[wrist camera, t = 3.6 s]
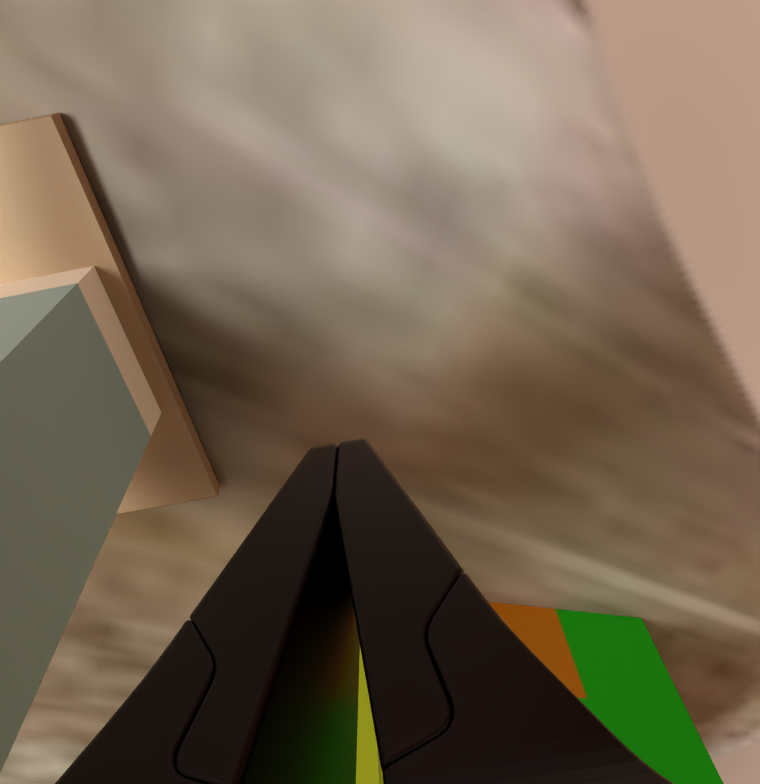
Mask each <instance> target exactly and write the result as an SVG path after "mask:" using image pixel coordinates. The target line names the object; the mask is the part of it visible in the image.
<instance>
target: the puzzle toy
mask: <svg viewBox="0 0 760 784" xmlns="http://www.w3.org/2000/svg"><path fill="white" fill-rule="evenodd" d="M489 604H490V605H491V606H492V607H493V609H494V610H495V611H496V612H497V614H498V615H499V616H500V617H501V619H502V620H503V621H504V622H505V623H506V624H507V625H508V627H509V628H510V629H511V630H512V631H513V632H514V633H515V634H516V635H517V636H518V637H519V638H520V639H521V641H522V642H523V643H524V644H525V645H526V646H527V647H528V648H529V649H530V650H531V651H532V652H533V653H534V654H535V655H536V656H537V657H538V658H539V659H540V661H541V662H542V663H543V664H544V665H545V666H546V667H547V668H548V669H549V670H550V671H551V672H552V673H553V674H554V675H555V676H556V677H557V678H558V679H559V680H560V681H561V682H562V683H563V684H564V685H565V686H566V687H567V688H568V689H569V690H570V691H571V692H572V693H573V694H574V695H575V696H576V697H577V698H578V699H579V700H580V701H581V702H582V703H583V704H584V705H585V706H586V707H587V708H588V709H589V710H590V711H591V712H592V713H593V714H594V715H595V716H596V717H597V718H598V719H599V720H600V721H601V722H602V723H603V724H604V725H605V726H606V727H607V728H608V729H609V730H610V731H611V732H612V733H613V734H614V735H615V736H616V737H617V738H618V739H619V740H620V741H621V742H622V743H623V744H624V745H625V746H627V747H628V748H629V749H630V750H631V751H632V752H633V753H634V754H636V755H637V756H638V757H639V758H640V759H641V760H642V761H644V762H645V763H646V764H647V765H649V766H650V767H651V768H652V769H654V770H655V771H656V772H658V773H659V774H660V775H662V776H663V777H665V778H666V779H668V780H669V781H671V782H672V783H674V784H723V782H722V780H721V778H720V776H719V774H718V772H717V770H716V768H715V766H714V764H713V762H712V760H711V758H710V756H709V754H708V752H707V750H706V748H705V746H704V744H703V742H702V740H701V738H700V736H699V734H698V732H697V730H696V728H695V725H694V723H693V721H692V719H691V717H690V715H689V713H688V711H687V709H686V707H685V705H684V703H683V701H682V699H681V697H680V695H679V693H678V691H677V689H676V687H675V685H674V683H673V681H672V679H671V677H670V675H669V673H668V671H667V669H666V667H665V665H664V663H663V661H662V659H661V657H660V655H659V653H658V651H657V649H656V647H655V645H654V643H653V641H652V639H651V637H650V635H649V633H648V630H647V628H646V626H645V624H644V622H643V620H642V618H636V617H626V616H617V615H607V614H598V613H588V612H579V611H569V610H560V609H551V608H541V607H532V606H522V605H513V604H503V603H494V602H489ZM356 784H384V782H383V772H382V769H381V765H380V759H379V753H378V747H377V742H376V736H375V730H374V724H373V718H372V713H371V707H370V701H369V695H368V689H367V683H366V678H365V672H364V666H363V660H362V654H361V649H360V656H359V692H358V727H357V763H356Z"/></svg>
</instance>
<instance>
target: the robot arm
mask: <svg viewBox="0 0 760 784" xmlns="http://www.w3.org/2000/svg"><path fill="white" fill-rule="evenodd" d="M190 619H191V621H190V620H188V621H186V622H185V623H184V625H183V626H182V628H181V629H180V630H179V632H178V633H177V635H176V636H175V637H174V639H173V640H172V642H171V643H170V644H169V646H168V647H167V648H166V650H165V651H164V652H163V654H162V655H161V656H160V658H159V659H158V660H157V662H156V663H155V664H154V666H153V667H152V668H151V669H150V671H149V672H148V673H147V675H146V676H145V677H144V679H143V680H142V681H141V683H140V684H139V685H138V686H137V687H136V689H135V690H134V691H133V692H132V693H131V695H130V696H129V697H128V698H127V700H126V701H125V702H124V703H123V704H122V706H121V707H120V708H119V709H118V710H117V712H116V713H115V714H114V715H113V717H112V718H111V719H110V720H109V721H108V723H107V724H106V725H105V726H104V727H103V728H102V730H101V731H100V732H99V733H98V734H97V735H96V737H95V738H94V739H93V740H92V741H91V742H90V744H89V745H88V746H87V747H86V748H85V749H84V751H83V752H82V753H81V754H80V755H79V756H78V758H77V759H76V760H75V761H74V762H73V763H72V765H71V766H70V767H69V768H68V769H67V770H66V772H65V773H64V774H63V775H62V776H61V777H60V779H59V780H58V781H57V782H56V783H55V784H356V763H357V727H358V692H359V656H360V649H361V654H362V660H363V666H364V672H365V678H366V683H367V689H368V695H369V701H370V707H371V713H372V718H373V724H374V730H375V736H376V742H377V747H378V753H379V759H380V765H381V769H382V772H383V782H384V784H674V783H672V782H671V781H669V780H668V779H666V778H665V777H663V776H662V775H660V774H659V773H658V772H656V771H655V770H654V769H652V768H651V767H650V766H649V765H647V764H646V763H645V762H644V761H642V760H641V759H640V758H639V757H638V756H637V755H636V754H634V753H633V752H632V751H631V750H630V749H629V748H628V747H627V746H625V745H624V744H623V743H622V742H621V741H620V740H619V739H618V738H617V737H616V736H615V735H614V734H613V733H612V732H611V731H610V730H609V729H608V728H607V727H606V726H605V725H604V724H603V723H602V722H601V721H600V720H599V719H598V718H597V717H596V716H595V715H594V714H593V713H592V712H591V711H590V710H589V709H588V708H587V707H586V706H585V705H584V704H583V703H582V702H581V701H580V700H579V699H578V698H577V697H576V696H575V695H574V694H573V693H572V692H571V691H570V690H569V689H568V688H567V687H566V686H565V685H564V684H563V683H562V682H561V681H560V680H559V679H558V678H557V677H556V676H555V675H554V674H553V673H552V672H551V671H550V670H549V669H548V668H547V667H546V666H545V665H544V664H543V663H542V662H541V661H540V659H539V658H538V657H537V656H536V655H535V654H534V653H533V652H532V651H531V650H530V649H529V648H528V647H527V646H526V645H525V644H524V643H523V642H522V641H521V639H520V638H519V637H518V636H517V635H516V634H515V633H514V632H513V631H512V630H511V629H510V628H509V627H508V625H507V624H506V623H505V622H504V621H503V620H502V619H501V617H500V616H499V615H498V614H497V612H496V611H495V610H494V609H493V607H492V606H491V605H490V604H489V602H488V601H487V600H486V599H485V597H484V596H483V595H482V594H481V592H480V591H479V590H478V588H477V587H476V586H475V584H474V583H473V582H472V580H471V579H470V578H469V576H468V575H467V574H465V573H464V570H463V569H462V567H461V566H460V565H459V563H458V562H457V561H456V559H455V558H454V557H453V555H452V554H451V553H450V551H449V550H448V549H447V547H446V546H445V544H444V543H443V542H442V540H441V539H440V538H439V536H438V535H437V534H436V532H435V531H434V530H433V528H432V527H431V526H430V524H429V523H428V522H427V520H426V519H425V518H424V516H423V515H422V513H421V512H420V511H419V509H418V508H417V507H416V505H415V504H414V503H413V501H412V500H411V499H410V497H409V496H408V495H407V493H406V492H405V491H404V489H403V488H402V487H401V485H400V484H399V482H398V481H397V480H396V478H395V477H394V476H393V474H392V473H391V472H390V470H389V469H388V468H387V466H386V465H385V464H384V462H383V461H382V460H381V458H380V457H379V456H378V454H377V453H376V451H375V450H374V449H373V447H372V446H371V445H370V443H369V442H368V441H367V440H366V439H357V440H352V441H346V442H342V443H341V444H340V445H339V447H338V446H337V445H336V444H330V445H324V446H319V447H314V448H311V449H310V450H309V451H308V452H307V454H306V455H305V456H304V458H303V459H302V461H301V462H300V463H299V465H298V466H297V468H296V469H295V470H294V472H293V473H292V474H291V476H290V477H289V479H288V480H287V481H286V483H285V484H284V486H283V487H282V488H281V490H280V491H279V493H278V494H277V495H276V497H275V498H274V500H273V501H272V502H271V504H270V505H269V507H268V508H267V509H266V511H265V512H264V514H263V515H262V516H261V518H260V519H259V521H258V522H257V523H256V525H255V526H254V528H253V529H252V530H251V532H250V533H249V534H248V536H247V537H246V539H245V540H244V541H243V543H242V544H241V546H240V547H239V548H238V550H237V551H236V553H235V554H234V555H233V557H232V558H231V560H230V561H229V562H228V564H227V565H226V567H225V568H224V569H223V571H222V572H221V574H220V575H219V576H218V578H217V579H216V581H215V582H214V583H213V585H212V586H211V588H210V589H209V590H208V592H207V593H206V594H205V596H204V597H203V599H202V600H201V601H200V603H199V604H198V606H197V607H196V608H195V610H194V611H193V613H192V614H191V616H190Z"/></svg>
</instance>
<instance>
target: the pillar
mask: <svg viewBox="0 0 760 784" xmlns="http://www.w3.org/2000/svg"><path fill="white" fill-rule="evenodd" d="M160 415H161V411H160V408H159V406H158V404H157V402H156V400H155V397H154V395H153V393H152V391H151V389H150V387H149V384H148V382H147V380H146V378H145V376H144V374H143V371H142V369H141V367H140V365H139V363H138V360H137V358H136V356H135V354H134V352H133V350H132V347H131V345H130V343H129V341H128V339H127V336H126V334H125V332H124V330H123V328H122V326H121V323H120V321H119V319H118V317H117V315H116V312H115V310H114V308H113V306H112V304H111V302H110V299H109V297H108V295H107V293H106V291H105V289H104V286H103V284H102V282H101V280H100V278H99V275H98V273H97V271H96V269H95V267H94V266H91V267H86V268H81V269H76V270H71V271H66V272H61V273H56V274H51V275H46V276H41V277H35V278H30V279H25V280H20V281H15V282H10V283H5V284H0V772H1V770H2V768H3V766H4V763H5V761H6V759H7V757H8V754H9V752H10V750H11V748H12V745H13V743H14V741H15V739H16V737H17V734H18V732H19V730H20V728H21V725H22V723H23V721H24V719H25V716H26V714H27V712H28V710H29V707H30V705H31V703H32V701H33V699H34V696H35V694H36V692H37V690H38V687H39V685H40V683H41V681H42V678H43V676H44V674H45V672H46V670H47V667H48V665H49V663H50V661H51V658H52V656H53V654H54V652H55V649H56V647H57V645H58V643H59V641H60V638H61V636H62V634H63V632H64V629H65V627H66V625H67V623H68V620H69V618H70V616H71V614H72V611H73V609H74V607H75V605H76V603H77V600H78V598H79V596H80V594H81V591H82V589H83V587H84V585H85V582H86V580H87V578H88V576H89V574H90V571H91V569H92V567H93V565H94V562H95V560H96V558H97V556H98V553H99V551H100V549H101V547H102V545H103V542H104V540H105V538H106V536H107V533H108V531H109V529H110V527H111V524H112V522H113V520H114V518H115V516H116V513H117V511H118V509H119V507H120V504H121V502H122V500H123V498H124V495H125V493H126V491H127V489H128V486H129V484H130V482H131V480H132V478H133V475H134V473H135V471H136V469H137V466H138V464H139V462H140V460H141V457H142V455H143V453H144V451H145V449H146V446H147V444H148V442H149V440H150V437H151V435H152V433H153V431H154V428H155V426H156V424H157V422H158V420H159V417H160Z"/></svg>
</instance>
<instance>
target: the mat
mask: <svg viewBox="0 0 760 784" xmlns="http://www.w3.org/2000/svg"><path fill="white" fill-rule="evenodd" d="M91 266H94V267H95V269H96V271H97V273H98V275H99V278H100V280H101V282H102V284H103V286H104V289H105V291H106V293H107V295H108V297H109V299H110V302H111V304H112V306H113V308H114V310H115V312H116V315H117V317H118V319H119V321H120V323H121V326H122V328H123V330H124V332H125V334H126V336H127V339H128V341H129V343H130V345H131V347H132V350H133V352H134V354H135V356H136V358H137V360H138V363H139V365H140V367H141V369H142V371H143V374H144V376H145V378H146V380H147V382H148V384H149V387H150V389H151V391H152V393H153V395H154V397H155V400H156V402H157V404H158V406H159V408H160V411H161V415H160V417H159V420H158V422H157V424H156V426H155V428H154V431H153V433H152V435H151V437H150V440H149V442H148V444H147V446H146V449H145V451H144V453H143V455H142V457H141V460H140V462H139V464H138V466H137V469H136V471H135V473H134V475H133V478H132V480H131V482H130V484H129V486H128V489H127V491H126V493H125V495H124V498H123V500H122V502H121V504H120V507H119V509H118V511H117V513H116V514H118V513H124V512H130V511H135V510H141V509H147V508H152V507H158V506H164V505H169V504H175V503H181V502H186V501H192V500H198V499H203V498H209V497H214V496H217V495H218V491H219V487H220V486H219V484H218V481H217V479H216V477H215V474H214V472H213V470H212V467H211V465H210V463H209V460H208V458H207V456H206V453H205V451H204V449H203V446H202V444H201V442H200V440H199V437H198V435H197V433H196V430H195V428H194V426H193V423H192V421H191V419H190V416H189V414H188V412H187V409H186V407H185V405H184V402H183V400H182V398H181V395H180V393H179V391H178V388H177V386H176V384H175V381H174V379H173V377H172V374H171V372H170V370H169V367H168V365H167V363H166V360H165V358H164V356H163V353H162V351H161V349H160V346H159V344H158V342H157V339H156V337H155V335H154V333H153V330H152V328H151V326H150V323H149V321H148V319H147V316H146V314H145V312H144V309H143V307H142V305H141V302H140V300H139V298H138V295H137V293H136V291H135V288H134V286H133V284H132V281H131V279H130V277H129V274H128V272H127V270H126V267H125V265H124V263H123V260H122V258H121V256H120V253H119V251H118V249H117V246H116V244H115V242H114V239H113V237H112V235H111V233H110V230H109V228H108V226H107V223H106V221H105V219H104V216H103V214H102V212H101V209H100V207H99V205H98V202H97V200H96V198H95V195H94V193H93V191H92V188H91V186H90V184H89V181H88V179H87V177H86V174H85V172H84V170H83V167H82V165H81V163H80V160H79V158H78V156H77V153H76V151H75V149H74V146H73V144H72V142H71V139H70V137H69V135H68V132H67V130H66V128H65V126H64V123H63V121H62V119H61V116H60V114H59V113H55V114H51V115H46V116H41V117H36V118H32V119H27V120H22V121H18V122H13V123H8V124H3V125H0V284H5V283H10V282H15V281H20V280H25V279H30V278H35V277H41V276H46V275H51V274H56V273H61V272H66V271H71V270H76V269H81V268H86V267H91Z"/></svg>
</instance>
